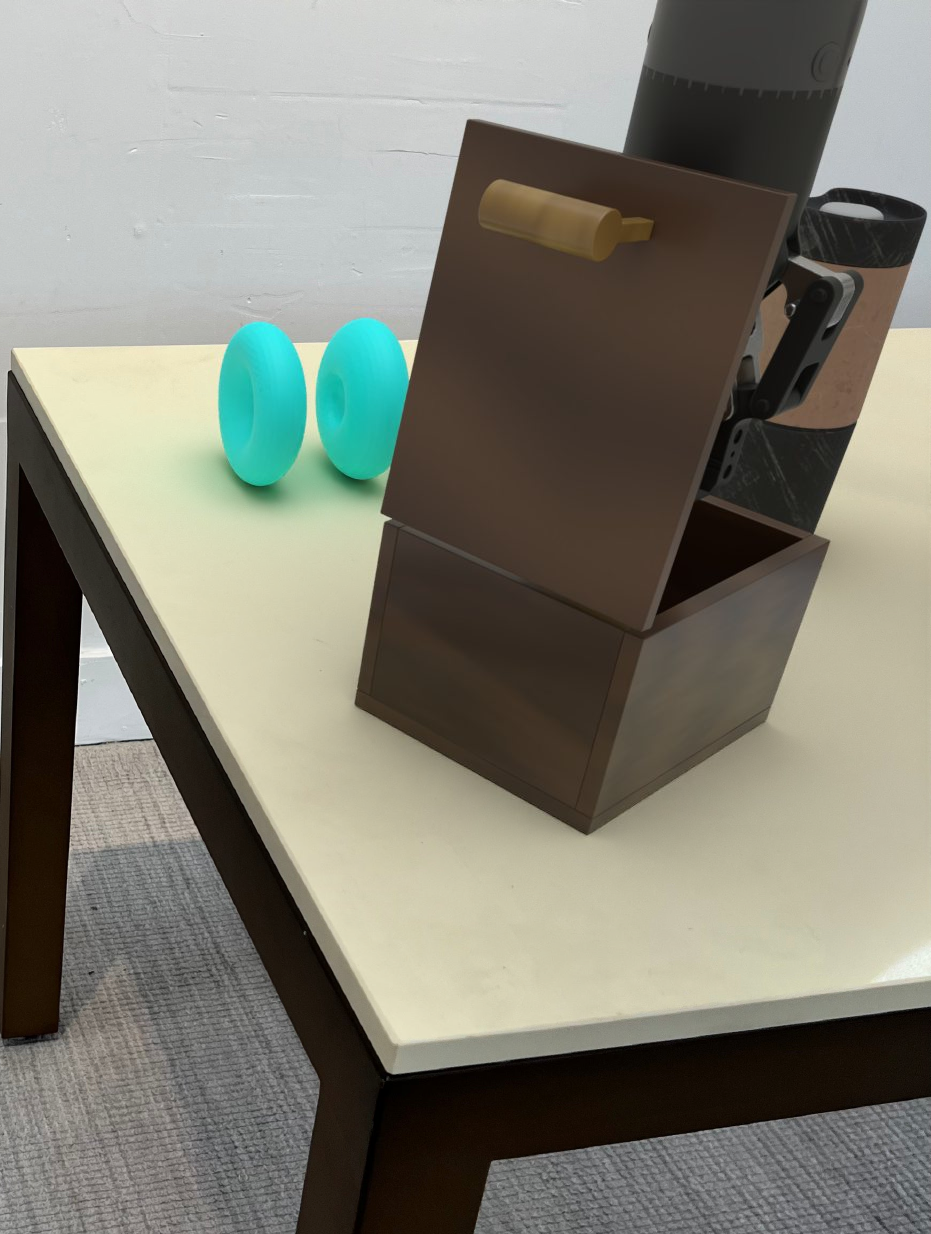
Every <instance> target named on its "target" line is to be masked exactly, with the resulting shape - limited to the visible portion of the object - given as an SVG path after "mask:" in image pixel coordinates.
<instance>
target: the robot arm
mask: <svg viewBox="0 0 931 1234" xmlns="http://www.w3.org/2000/svg"><path fill="white" fill-rule="evenodd" d="M868 2H869V0H657V1H656V4H655V9H654V13H653V18H652V22H651V23H650V27H649V29H648V33H647V39H646V42H647V43H646V49H645V53H644V57H643V61H642V66H641V71H640V75H639V80H638V84H637V88H636V93H635V97H634V101H633V106H632V110H631V115H630V119H629V123H628V129H627V132H626V136H625V140H624V144H623V145H624V146H623V149H622V153H625V154H630V155H634V156H638V157H642V158H647V159H651V160H655V161H659V162H664V163H668V164H672V165H676V166H681V167H685V168H689V169H693V170H698V171H702V172H706V173H711V174H715V175H719V176H723V177H728V178H732V179H736V180H740V181H745V182H749V183H753V184H757V185H762V186H766V187H770V188H774V189H779V190H783V191H787V192H791V193H796V194H797V199H796V201H795V204H794V207H793V210H792V213H791V216H790V219H789V222H788V225H787V228H786V231H785V234H784V237H783V240H782V243H781V246H780V249H779V252H778V255H777V258H776V261H775V264H774V266H773V269H772V272H771V275H770V278H769V281H768V284H767V287H766V290H765V293H764V296H763V299H762V301H763V300H764V299H765V298H766V297H767V296H769V295H770V294H771V293H772V292H773V291H774V290H776V289H777V288H778V287H779V286H780V285H781V284H783V285H784V286H785V288H786V291H787V299H786V302H785V306H784V313H785V315H786V317H787V318H788V319H789V320H790V322H789V324H788V326H787V328H786V330H785V332H784V334H783V336H782V338H781V340H780V342H779V344H778V346H777V348H776V350H775V352H774V354H773V356H772V358H771V360H770V362H769V364H768V366H767V368H766V370H765V371H764V373H763V375H762V377H761V374H760V363H759V354H760V352H761V350H762V348H763V343H764V338H763V327H762V316H761V305H760V308H759V311H758V314H757V317H756V320H755V323H754V326H753V329H752V332H751V334H750V337H749V340H748V343H747V346H746V349H745V352H744V355H743V358H742V361H741V364H740V367H739V370H738V373H737V376H736V379H735V382H734V385H733V388H732V391H731V394H730V397H729V399H728V402H727V405H726V408H725V411H724V414H723V417H722V420H721V423H720V426H719V429H718V432H717V435H716V438H715V441H714V444H713V447H712V450H711V453H710V456H709V459H708V462H707V465H706V467H705V470H704V473H703V476H702V479H701V482H700V485H699V488H698V491H697V494H696V497H695V500H694V501H697V500H700V499H702V498H704V497H706V496H708V495H711V494H712V493H713V492H714V491H715V490H716V489H718V488H720V487H723V486H725V485H726V484H727V483H728V482H729V481H730V479H731V478H732V477H733V476H734V472H735V469H736V466H737V462H738V459H739V456H740V455H739V454H740V453H741V449H742V446H743V443H744V439H745V436H746V433H747V430H748V426H749V423H750V421H751V420H752V418H757V419H759V420H767V419H770V418H772V417H775V416H777V415H780V414H782V413H784V412H787V411H789V410H792V409H794V408H796V407H799V406H800V405H801V404H802V403H803V402H804V401H805V399H806V397H807V395H808V393H809V391H810V389H811V387H812V385H813V384H814V382H815V380H816V378H817V376H818V374H819V372H820V370H821V368H822V367H823V365H824V363H825V361H826V359H827V357H828V355H829V353H830V351H831V350H832V348H833V346H834V344H835V342H836V340H837V338H838V336H839V334H840V333H841V331H842V329H843V327H844V325H845V323H846V321H847V319H848V317H849V316H850V314H851V312H852V310H853V308H854V306H855V304H856V302H857V300H858V299H859V297H860V295H861V293H862V291H863V288H864V280H863V277H862V276H861V274H860V273H859V272H857V271H855V270H845V271H842V272H839V273H835V272H833V271H831V270H829V269H827V268H825V267H823V266H821V265H819V264H817V263H815V262H813V261H811V260H808V259H806V258H804V257H802V256H801V255H802V247H801V242H800V235H799V225H800V218H801V215H802V213H803V210H804V208H805V206H806V203H807V201H808V199H809V197H811V194H812V190H813V187H814V185H815V181H816V177H817V174H818V171H819V168H820V164H821V161H822V158H823V154H824V152H825V148H826V144H827V142H828V141H827V140H828V138H829V134H830V132H831V127H832V125H833V121H834V117H835V114H836V111H837V109H838V106H839V105H838V104H839V101H840V98H841V95H842V92H843V89H844V85H845V82H846V81H845V80H846V78H847V74H848V71H849V68H850V64H851V63H852V62H851V61H852V58H853V55H854V51H855V48H856V46H857V42H858V38H859V35H860V33H861V28H862V26H863V22H864V18H865V15H866V11H867V7H868Z"/></svg>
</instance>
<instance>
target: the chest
mask: <svg viewBox="0 0 931 1234" xmlns="http://www.w3.org/2000/svg"><path fill="white" fill-rule="evenodd" d="M830 544H831V540H830V539H828V538H826V537H822V536H820V535H817V534H815V533H814V534H811V533H809V532H806V531H803V530H801V529H798V528H796V527H793V526H790V525H788V524H785V523H782V522H780V521H777V520H774V519H772V518H769V517H767V516H764V515H761V514H759V513H756V512H753V511H751V510H748V509H745V508H743V507H740V506H737V505H735V504H732V503H730V502H727V501H724V500H722V499H719V498H716V497H714V496H711V495H708V496H706V497H704V498H702V499H700V500H697V501H694V503H693V506H692V509H691V512H690V515H689V518H688V521H687V524H686V527H685V530H684V532H683V535H682V538H681V541H680V544H679V547H678V550H677V553H676V556H675V559H674V562H673V565H672V568H671V571H670V574H669V577H668V580H667V583H666V586H665V589H664V592H663V595H662V597H661V600H660V603H659V606H658V609H657V612H656V615H655V618H654V621H653V624H652V627H651V628H650V629H647V630H645V631H639V630H636V629H634V628H632V627H630V626H628V625H625V624H623V623H621V622H619V621H617V620H614V619H612V618H610V617H608V616H606V615H603V614H601V613H599V612H597V611H595V610H592V609H590V608H588V607H586V606H583V605H581V604H579V603H577V602H575V601H572V600H570V599H568V598H566V597H564V596H561V595H559V594H557V593H555V592H553V591H550V590H548V589H546V588H544V587H542V586H539V585H537V584H535V583H533V582H531V581H528V580H526V579H524V578H522V577H520V576H517V575H515V574H513V573H511V572H509V571H506V570H504V569H502V568H500V567H498V566H495V565H493V564H491V563H489V562H486V561H484V560H482V559H480V558H478V557H475V556H473V555H471V554H469V553H467V552H464V551H462V550H460V549H458V548H456V547H453V546H451V545H449V544H447V543H445V542H442V541H440V540H438V539H436V538H434V537H431V536H429V535H427V534H425V533H423V532H420V531H418V530H416V529H414V528H412V527H409V526H407V525H405V524H403V523H400V522H398V521H396V520H394V519H392V518H390V519H388V520H384V522H383V526H382V532H381V538H380V544H379V551H378V557H377V563H376V569H375V575H374V580H373V581H374V582H373V586H372V593H371V599H370V605H369V611H368V619H367V623H366V624H367V625H366V630H365V636H364V642H363V647H362V654H361V659H360V660H361V661H360V667H359V673H358V679H357V686H356V691H355V698H354V705H355V706H357V707H359V708H361V709H363V710H364V711H366V712H368V713H369V714H371V715H373V716H374V717H376V718H378V719H380V720H381V721H383V722H386V723H387V724H389V725H391V726H392V727H395V728H396V729H398V730H400V731H401V732H404V733H405V734H407V735H409V736H411V737H412V738H414V739H416V740H418V741H420V742H421V743H423V744H425V745H426V746H428V747H430V748H432V749H434V750H435V751H437V752H439V753H440V754H443V755H445V756H446V757H448V758H449V759H452V760H453V761H455V762H457V763H458V764H460V765H462V766H464V767H466V768H467V769H469V770H471V771H472V772H475V773H476V774H478V775H480V776H482V777H483V778H485V779H487V780H489V781H490V782H492V783H495V784H496V785H497V786H499V787H502V788H503V789H505V790H507V791H509V792H510V793H512V794H514V795H516V796H517V797H519V798H521V799H523V800H524V801H526V802H529V804H532V805H533V806H535V807H536V808H539V809H541V810H542V811H544V812H546V813H548V814H549V815H551V816H553V817H555V818H557V819H558V820H560V821H562V822H564V823H566V824H567V825H569V826H571V827H572V828H575V830H578V831H579V832H582V833H583V834H585V835H590V834H591V833H592V832H594V831H596V830H597V829H598V828H600V827H602V826H603V825H605V824H606V823H608V822H610V821H612V819H614V818H616V817H618V816H619V815H620V814H622V813H624V812H625V811H627V810H628V809H629V808H631V807H633V806H635V804H638V803H639V802H641V801H642V800H644V799H645V798H647V797H648V796H650V795H652V794H653V793H655V792H656V791H657V790H660V789H661V788H663V787H664V786H666V785H667V784H669V783H670V782H672V781H674V780H675V779H677V778H678V777H679V776H681V775H683V774H684V773H686V772H687V771H689V770H690V769H692V768H694V767H695V766H697V765H698V764H700V763H702V762H703V761H704V760H706V759H708V758H709V757H710V756H712V755H714V754H716V753H717V752H719V751H720V750H722V749H724V747H726V746H728V745H730V744H732V743H733V742H735V741H736V740H738V739H739V738H740V737H742V736H744V735H745V734H747V733H748V732H750V731H751V730H753V729H754V728H756V727H757V726H759V725H761V724H762V723H763V722H765V721H767V720H768V717H769V714H770V711H771V709H772V705H773V704H774V701H775V698H776V695H777V692H778V689H779V687H780V684H781V681H782V678H783V676H784V673H785V670H786V667H787V664H788V661H789V659H790V656H791V653H792V652H793V651H792V650H793V647H794V645H795V642H796V639H797V636H798V633H799V631H800V628H801V625H802V623H803V621H804V620H803V619H804V617H805V615H806V611H807V609H808V605H809V603H810V600H811V598H812V594H813V591H814V590H815V586H816V583H817V580H818V578H819V575H820V572H821V570H822V567H823V563H824V561H825V558H826V555H827V553H828V550H829V547H830Z"/></svg>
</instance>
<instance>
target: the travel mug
mask: <svg viewBox="0 0 931 1234" xmlns="http://www.w3.org/2000/svg"><path fill="white" fill-rule="evenodd" d="M927 218H928V211H927V210H926V209H925V208H924V207H923V206H921V205H920V204H918V203H916V202H914V201H910V200H907V199H905V198H902V197H898V196H896V195H891V194H886V193H882V192H878V191H874V190H873V191H872V190H867V189H860V188H852V187H833V188H830V189H829V190H826V192H824V193H822V195H817V196H809V199H808V201H807V203H806V206H805V208H804V210H803V213H802V215H801V218H800V225H799V235H800V242H801V247H802V255H801V256H802V257H804V258H806V259H808V260H811V261H813V262H815V263H817V264H819V265H821V266H823V267H825V268H827V269H829V270H831V271H833V272H835V273H839V272H842V271H845V270H855V271H857V272H859V273H860V274H861V276H862V277H863V280H864V288H863V291H862V293H861V295H860V297H859V299H858V300H857V302H856V304H855V306H854V308H853V310H852V312H851V314H850V316H849V317H848V319H847V321H846V323H845V325H844V327H843V329H842V331H841V333H840V334H839V336H838V338H837V340H836V342H835V344H834V346H833V348H832V350H831V351H830V353H829V355H828V357H827V359H826V361H825V363H824V365H823V367H822V368H821V370H820V372H819V374H818V376H817V378H816V380H815V382H814V384H813V385H812V387H811V389H810V391H809V393H808V395H807V397H806V399H805V401H804V402H803V403H802V404H801V405H800V406H799V407H796V408H794V409H792V410H789V411H787V412H784V413H782V414H780V415H777V416H775V417H772V418H770V419H767V420H759V419H757V418H752V420H751V421H750V423H749V426H748V430H747V433H746V436H745V439H744V443H743V446H742V449H741V453H740V454H739V455H740V456H739V459H738V462H737V466H736V469H735V472H734V476H733V477H732V478H731V479H730V481H729V482H728V483H727V484H726V485H725V486H723V487H720V488H718V489H716V490H715V491H714V492H713V493H712V494H711V496H714V497H716V498H719V499H722V500H724V501H727V502H730V503H732V504H735V505H737V506H740V507H743V508H745V509H748V510H751V511H753V512H756V513H759V514H761V515H764V516H767V517H769V518H772V519H774V520H777V521H780V522H782V523H785V524H788V525H790V526H793V527H796V528H798V529H801V530H803V531H806V532H809V533H811V534H815V532H816V529H817V527H818V524H819V522H820V519H821V517H822V513H823V512H824V508H825V507H826V503H827V501H828V499H829V496H830V494H831V491H832V488H833V486H834V484H835V481H836V478H837V475H838V473H839V470H840V467H841V466H842V462H843V460H844V457H845V455H846V452H847V450H848V447H849V445H850V442H851V440H852V437H853V434H854V431H855V429H856V427H857V424H858V420H859V419H860V416H861V413H862V410H863V407H864V404H865V402H866V399H867V397H868V392H869V390H870V386H871V384H872V381H873V378H874V375H875V372H876V369H877V366H878V364H879V360H880V357H881V354H882V352H883V349H884V347H885V346H884V345H885V343H886V340H887V337H888V335H889V331H890V329H891V325H892V322H893V319H894V316H895V314H896V310H897V308H898V304H899V303H900V298H901V296H902V292H903V290H904V287H905V284H906V281H907V278H908V275H909V272H910V270H911V267H912V264H913V260H914V257H915V255H916V251H917V250H918V246H919V243H920V240H921V238H922V235H923V231H924V228H925V226H926V222H927ZM786 299H787V291H786V288H785V286H784V285H783V284H781V285H780V286H779V287H778V288H777V289H776V290H774V291H773V292H772V293H771V294H770V295H769V296H767V297H766V298H765V299H764V300H763V301H762V302H761V316H762V327H763V338H764V343H763V348H762V350H761V352H760V354H759V363H760V374H761V377H762V375H763V373H764V371H765V370H766V368H767V366H768V364H769V362H770V360H771V358H772V356H773V354H774V352H775V350H776V348H777V346H778V344H779V342H780V340H781V338H782V336H783V334H784V332H785V330H786V328H787V326H788V324H789V322H790V320H789V319H788V318H787V317H786V315H785V313H784V306H785V302H786Z"/></svg>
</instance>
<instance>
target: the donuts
mask: <svg viewBox="0 0 931 1234" xmlns="http://www.w3.org/2000/svg"><path fill="white" fill-rule="evenodd" d="M402 348H403V347H402V346H401V344H400V341H399V340H398V338H397V336H396V335H395V333H394V332H393V331H392V330H391V329H390V328H389V326H388V325H386V324H385V323H384V322H381V321H380V320H378V319H375V318H371V317H360V318H356V319H352V320H350V321H349V322H347V323H345V324H344V325H342V326H341V327H340V328H339V329H338V330H337V331H336V332H335V333H334V334H333V336H332V337H331V338H330V340H329V342H328V343H327V345H326V347H325V350H324V351H323V354H322V357H321V360H320V363H319V367H318V371H317V377H316V382H315V395H314V396H315V397H314V398H315V399H314V402H315V403H314V404H315V418H316V425H317V431H318V433H319V434H318V435H319V437H320V440H321V443H322V446H323V449H324V451H325V453H326V455H327V457H328V459H329V460H330V462H331V463H332V464H333V466H334V467H335V468H336V469H338V471H340V473H342V474H343V475H345V476H347V477H349V478H352V479H354V480H362V481H363V480H371V479H374V478H376V477H379V476H381V475H382V474H384V473H385V472H386V471H387V470H388V469H390V466H391V462H392V457H393V453H394V448H395V444H396V439H397V434H398V430H399V425H400V421H401V416H402V412H403V407H404V403H405V398H406V394H407V389H408V385H409V380H410V376H409V370H408V366H407V365H408V364H407V361H406V358H405V354H404V351H403V349H402ZM222 357H223V358H222V363H221V367H220V372H219V379H218V390H217V391H218V392H217V397H218V399H217V403H218V404H217V411H218V423H219V424H218V425H219V430H220V437H221V442H222V445H223V449H224V453H225V455H226V459H227V461H228V463H229V465H230V467H231V468H232V470H233V472H234V473H235V474H236V475H237V476H238V478H240V479H241V480H242V481H243V482H245V483H247V484H249V485H251V486H256V487H265V486H268V485H273V484H274V483H276V482H278V481H279V480H281V479H282V478H284V476H285V475H286V474H288V472H289V471H290V470H291V468H292V467H293V465H294V464H295V462H296V461H297V460H296V459H297V458H298V455H299V453H300V451H301V448H302V444H303V441H304V438H305V432H306V431H305V430H306V425H307V416H308V395H307V393H308V392H307V384H306V383H307V382H306V377H305V372H304V368H303V365H302V360H301V359H300V358H301V357H300V356H299V353H298V350H297V348H296V346H295V345H294V343H293V341H292V340H291V339H290V337H289V336H288V335H287V334H286V333H285V332H284V331H283V330H282V329H280V327H278V326H277V325H274V324H272V323H271V322H266V321H252V322H250V323H249V322H248V323H247V324H245V325H244V326H242V327H240V328H239V329H238V330H237V331H236V332H235V333H234V334H233V336H232V337H231V339H229V342H228V344H227V346H226V349H225V352H224V354H223V356H222Z"/></svg>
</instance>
